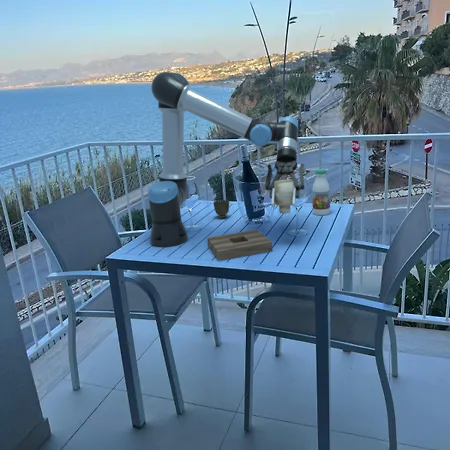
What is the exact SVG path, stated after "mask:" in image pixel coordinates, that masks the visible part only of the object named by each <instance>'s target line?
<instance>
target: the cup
mask: <svg viewBox="0 0 450 450" xmlns="http://www.w3.org/2000/svg"><path fill="white" fill-rule="evenodd" d="M213 208H214V211H215V214H216V215H218V218H219V219H226V218H227V214H228V213H229V211H230V210H229V209H230V200H229V199H226V200H225V199H221V200H220V199H219V200H217V199H216V200H214V201H213Z"/></svg>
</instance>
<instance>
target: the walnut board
mask: <svg viewBox="0 0 450 450" xmlns="http://www.w3.org/2000/svg"><path fill="white" fill-rule="evenodd" d="M206 239H207V246H208V248H209V250H210V251H211V252H212V253H213V255H214V256H215V258H216V259H217V261H219V262H220V261H225V260H226V261H227V260H231V258H232V259H236V258H241V257H242V256H243V257H247V256H253V255H258V254H264V253H268V252H273V242H272V241H271V239H269V238H268V237H267V236H265V235H264V234H263V233H262V232H261V231H259V230H258V229H251V230H244V231H239V232H238V231H237V232H233V233H232V232H231V233H226V234H221V235H215V236H208V237H207V238H206Z"/></svg>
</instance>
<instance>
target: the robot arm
mask: <svg viewBox="0 0 450 450" xmlns="http://www.w3.org/2000/svg"><path fill="white" fill-rule="evenodd" d="M151 93H152V96H153V98H154V99H155V100H156V101H158V104H157V105H158V107H157V108H158V110H160V112H161V115H162V116H161V119H162V121H161V122H162V125H161V126H162V129H161V130H162V134H161V135H162V136H161V137H162V172H161V173H159V175H158V181H157V182H154V183H152V184H150V186H148V189H147V197H148V202H149V209H150V216H151V222H152V225H151V230H150V231H151V232H150V236H149V239H150V245H152V246H153V247H159V248H163V247H164V248H166V247H167V248H168V247H172V246H173V247H175V246H179V245H181V244H183V243H186V241H188V240H189V237H188V231H187V230H186V227H185V226H184V223H183V221H182V214H181V206H182V205H183V204H184V203H185V202H186V201H187V199H188V197H189V192H190V188H189V185H188V183H187V182H188V178H187V177H188V176H187V174H186V173H185V172H184V133H185V132H184V128H185V125H184V121H185V119H184V118H185V117H184V116H185V115H184V114H185V113H186V112H189V113H190V114H193V115H194V116H197V117H200V118H201V119H204V120H206V121H207V122H210V123H212V124H214V125H216V126H218V127H220V128H222V129H225V130H226V131H229V132H231V133H232V134H236V135H237V136H239V137H242V138H244V139H245V140H246V141H247V140H248V141H249V142H251V143H252V144H253V145H255V146H257V147H263V146H266V145H268V144H269V142H274V143H277V149H276V150H277V151H276V159H275V160H276V161H275V163H274V164H273V165H272V164H267V169H268V170H267V175H266V180H265V184H264V187H265V190H266V191H269V198H270V199H271V202H270V203H271V207H272V208H275V207H276V204H275V188H274V182H275V181H278V180H280V179H281V178H282V176H285V175H287V176H290V177H291V180H292V181H293V185H294V188H293V204H292V208H296V203H297V201H296V200H297V199H298V198H299V197H300V191H301V190H303V191H304V190H305V178H304V171H305V163H304V162H303V163H299V164H298V162H297V155H298V139H299V138H298V137H299V122H298V120H297V119H296V118H295V117H294V116H291V115H289V116H283V117H282V118H281V119H279V122H278V121H272V122H271V121H263V120H262V121H259V120H256V119H254V118H252V117H249V116H247V115H246V114H243V113H241V112H239V111H237V110H235V109H233V108H230V107H229V106H227V105H225V104H222V103H221V102H219V101H217V100H215V99H212V98H211V97H208V96H205V95H204V94H202V93H200V92H198V91H195V90H194V89H192V88H191V86H190V83H189V81H188V79H187V78H186V77H185V76H184V75H183V74H181V73H178V72H171V71H163V72H159V73H158V74H157V75H156V76H155V77H154V78H153V79H152V82H151ZM275 169H276V173H275V176H274V177H273V172H274V171H275ZM296 169H297V170H298V171H299V181H300V184H299V182H298V180H297V177H296V175H295V173H294V172H295V170H296ZM272 179H273V180H272Z"/></svg>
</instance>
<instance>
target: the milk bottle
mask: <svg viewBox="0 0 450 450" xmlns="http://www.w3.org/2000/svg"><path fill="white" fill-rule="evenodd" d="M330 188H331V186H330V184H329V182H328V179H327V169H326V168H325V169H324V168H318V169H315V180H314V181H313V185H312V191H311V192H312V193H311V195H312V196H311V197H312V199H311V200H312V213H313V215H315V216H327V215H329V214H330V213H331V189H330Z"/></svg>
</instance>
